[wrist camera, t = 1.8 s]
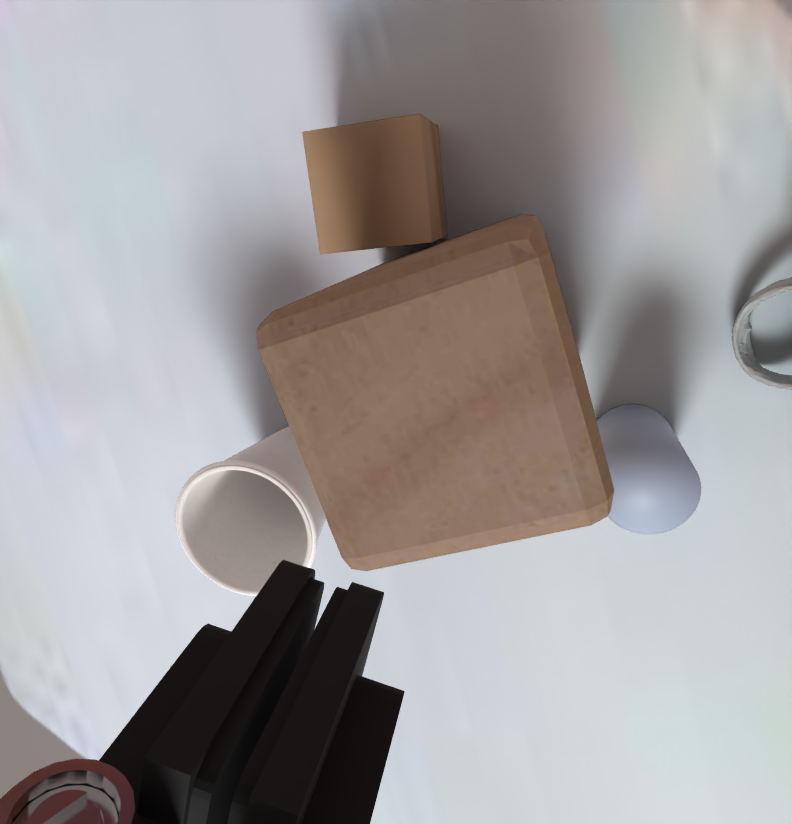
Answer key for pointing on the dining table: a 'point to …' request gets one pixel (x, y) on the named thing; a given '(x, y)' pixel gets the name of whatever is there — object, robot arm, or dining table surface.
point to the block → (441, 400)
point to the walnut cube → (376, 184)
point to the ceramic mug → (743, 341)
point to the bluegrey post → (647, 471)
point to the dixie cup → (250, 515)
